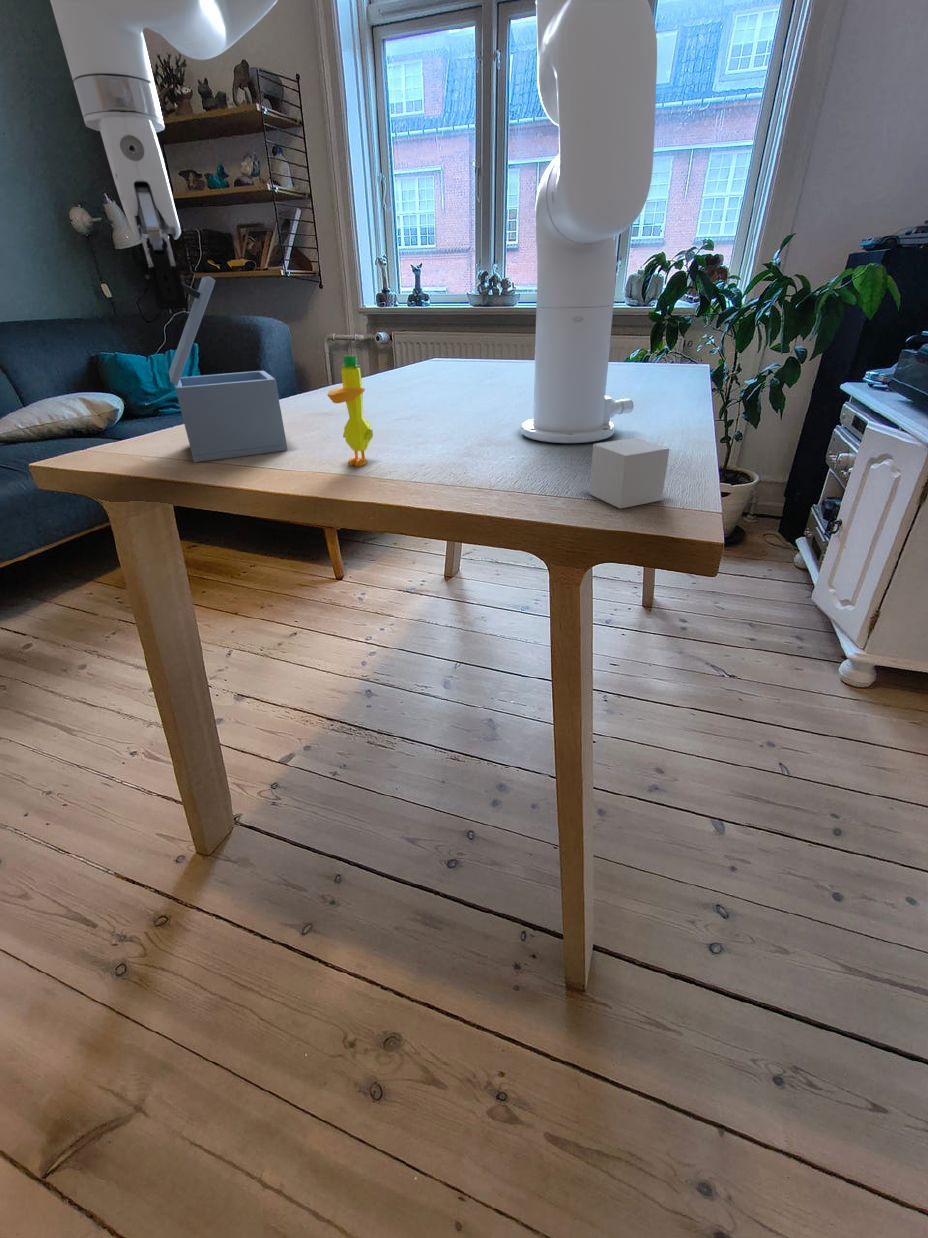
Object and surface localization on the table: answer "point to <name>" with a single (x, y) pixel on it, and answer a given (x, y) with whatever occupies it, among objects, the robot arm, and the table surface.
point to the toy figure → (353, 409)
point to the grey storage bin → (231, 415)
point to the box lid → (190, 326)
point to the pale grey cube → (628, 472)
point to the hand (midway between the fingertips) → (171, 305)
